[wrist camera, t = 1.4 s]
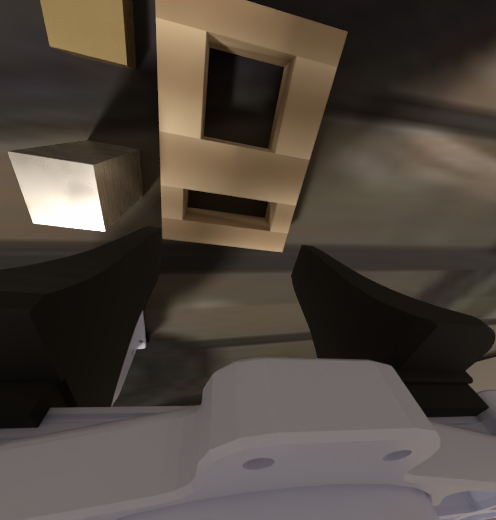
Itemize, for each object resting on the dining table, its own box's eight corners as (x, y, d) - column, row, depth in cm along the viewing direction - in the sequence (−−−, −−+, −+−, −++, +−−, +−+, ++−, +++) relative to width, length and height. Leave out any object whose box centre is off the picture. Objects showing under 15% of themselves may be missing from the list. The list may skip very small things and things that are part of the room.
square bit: (143, 196, 18) (104, 231, 13) (96, 189, 18) (33, 223, 12) (139, 149, 17) (93, 164, 11) (87, 140, 16) (7, 151, 10)
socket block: (275, 236, 22) (282, 252, 19) (170, 223, 20) (162, 238, 17) (326, 47, 14) (347, 31, 12) (168, 1, 13) (154, -28, 10)
